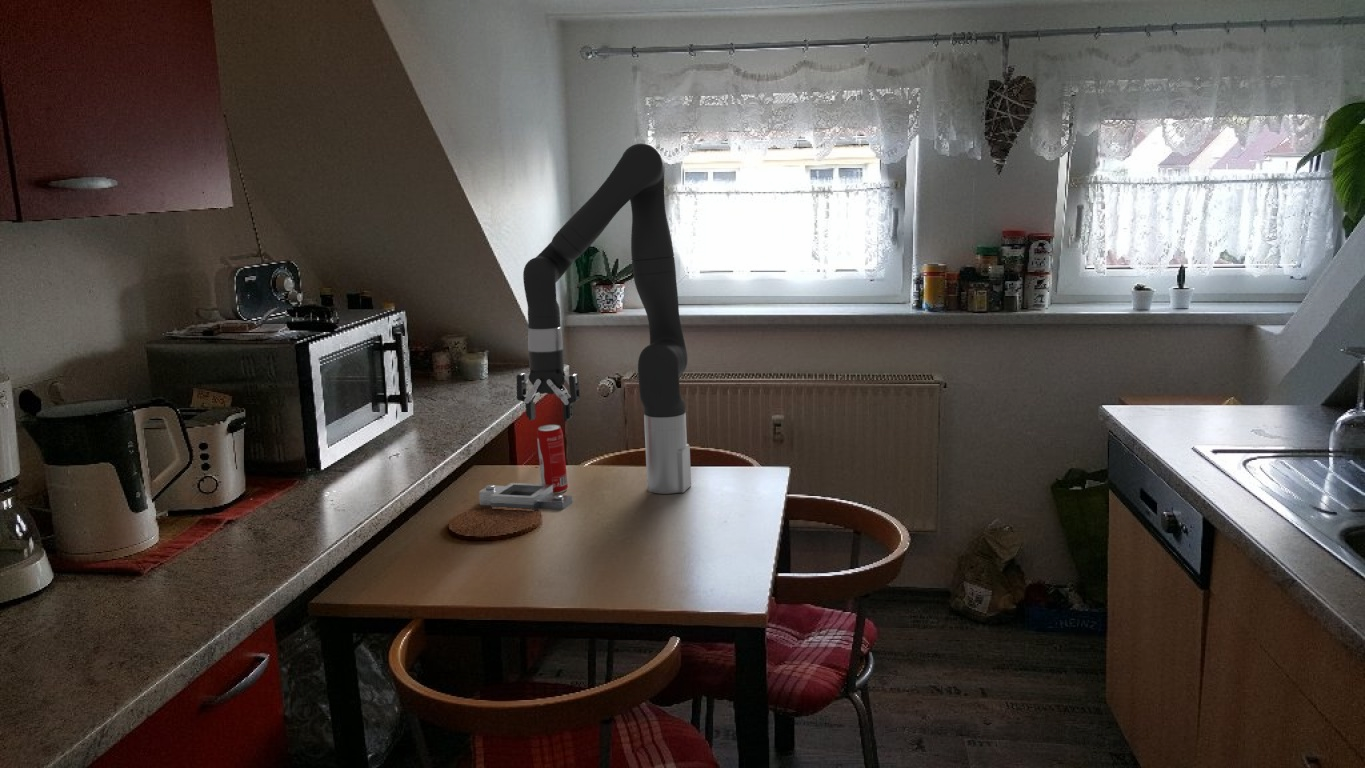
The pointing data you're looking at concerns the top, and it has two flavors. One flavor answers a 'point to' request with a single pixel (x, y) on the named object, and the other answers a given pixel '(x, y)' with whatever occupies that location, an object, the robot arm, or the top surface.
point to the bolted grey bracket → (523, 496)
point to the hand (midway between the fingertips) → (549, 420)
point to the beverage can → (552, 457)
